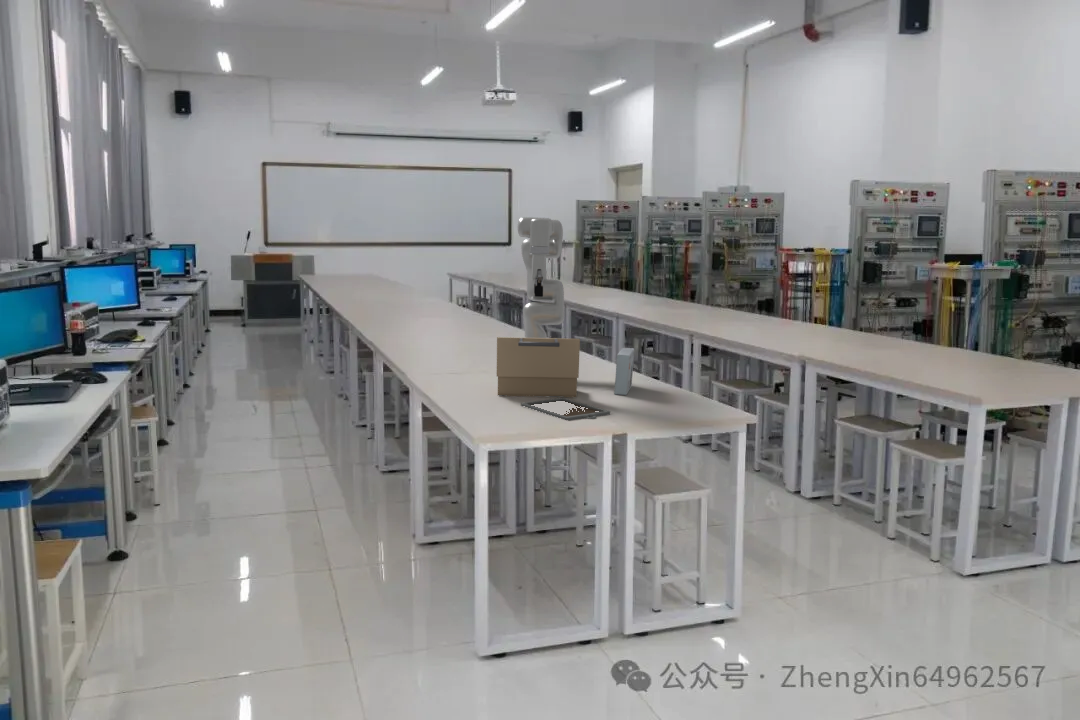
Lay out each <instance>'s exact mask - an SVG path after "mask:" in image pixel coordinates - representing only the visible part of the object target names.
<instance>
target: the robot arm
mask: <svg viewBox="0 0 1080 720" xmlns="http://www.w3.org/2000/svg"><path fill="white" fill-rule="evenodd" d="M517 232H518V236H519V237H520V238H526V239H524V240H523V241H522V242H521V244H520V245H521V246H520V247H521V248H520V249H521V257H522V261H523V263H524V266H525V269H526V295H527V299H528V300H530V301H533V302H527V303H526V304H525V305H524V307H523V309H522V310H523V311H522V315H523V323H524V324H523V325H524V338H548V336H547V332H546V331H545V329H544V328H543V327H542V326H544V325H545V326H546V325H548V326H552V325H554V326H559V325H562V324H563V322H564V319H565V289H564V288H565V287H564V284H563V282H562V281H561V280H559V279H548V278H547V268H546V264H547V262H546V261H547V259H559V258H560V257H561V256H562V252H563V240H564V239H563V236H564V228H563V224H562V222H561V220H558V219H551V218H549V217H533V216H531V217H530V216H529V217H527V216H526V217H525V216H524V217H520V218H519V219H518V222H517Z"/></svg>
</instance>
